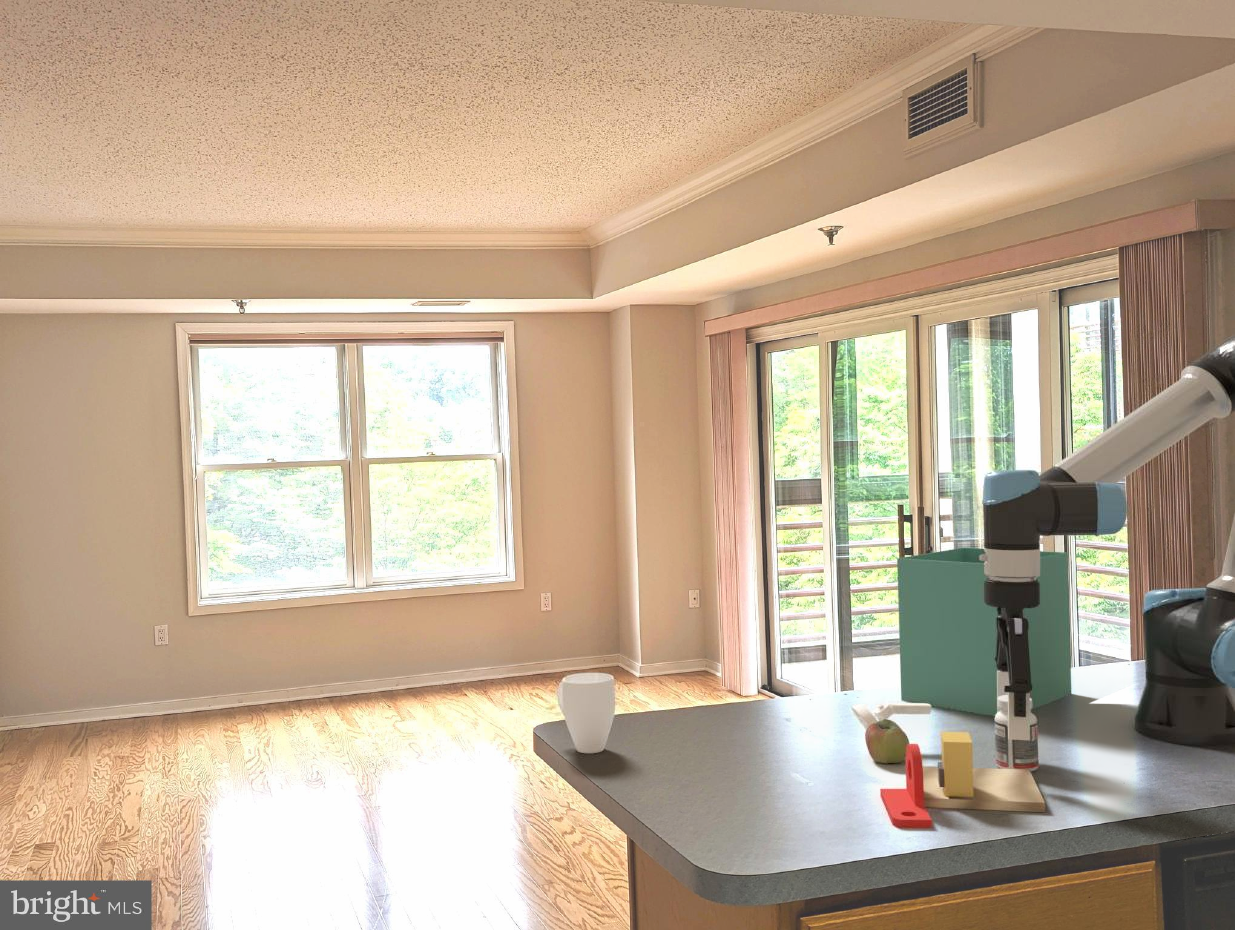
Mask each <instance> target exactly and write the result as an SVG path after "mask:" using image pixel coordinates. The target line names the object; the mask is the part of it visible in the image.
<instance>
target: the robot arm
mask: <svg viewBox="0 0 1235 930" xmlns="http://www.w3.org/2000/svg"><path fill="white" fill-rule="evenodd" d="M1234 412H1235V333H1234V334H1232V335H1231V336H1229V337H1228V338H1226V339H1225V340H1223V341H1222V342H1220V343H1218V345H1216V346H1214V347H1213V348H1212V349H1210V350H1209V351H1207V352H1206V353H1205V354H1203V355H1201V356H1200V357H1199V358H1197V359H1196V360H1194V361H1193V362H1191V363H1190V364H1188V365H1187V366H1186V367H1184V368H1183V369H1182V370H1181V372H1180V379H1178V380H1177V381H1175V382H1174V383H1173V384H1172V385H1170V386H1169V387H1167V388H1165V389H1164V390H1162V391H1161V392H1160V393H1158V394H1157V395H1156V396H1154V397H1152V398H1150V400H1148V401H1147V402H1145V403H1144V404H1142V405H1141V406H1139V407H1138V408H1136V409H1135V410H1133V411H1132V412H1130V413H1129V414H1128V415H1126V416H1124V417H1122V419H1121V420H1118V421H1117V422H1116V423H1115V424H1113V425H1111V426H1110V427H1108V428H1107V429H1106V430H1104V431H1103V432H1102V433H1099V434H1098V435H1097V436H1095V437H1094V438H1092V439H1091V440H1089V441H1088V442H1087V443H1085V444H1084V445H1082V446H1081V447H1080V448H1078V449H1077V450H1075V451H1074V452H1072V453H1070V454H1069V455H1068V456H1066V457H1064V458H1063V459H1062V460H1061V461H1059V462H1057V463H1055V465H1054V466H1052V467H1050V468H1049V469H1047V470H1046V471H1044V472H1043V473H1041V474H1039V472H1038V471H1037V470H1035V469H1033V470H1032V469H1001V470H1000V469H997V470H996V469H994V470H991V471H988V472H987V473H986V474H985V475H984V479H983V487H982V488H983V490H982V501H981V504H982V513H983V514H982V515H983V516H982V518H983V519H982V520H983V547H984V548H983V549H984V551H985V552H986V554H982V555H980V556H979V557H980V558H979V559H980V560H981V561H985V563H984V574H985V575H987V576H989V578H987V579H986V580H985V581H984V602H985V604H986V605H988V606H992V607H998V608H997V611H998V617H996V627H997V640H996V657H995V661H996V663H997V664H996V667H997V669H998V670H1000V671H997V702H998V697H999V696H1002V695H1008V738H1009V739H1010V740H1030V691H1031V690H1032V684H1031V671H1030V657H1029V642H1028V629H1029V622H1028V620H1027V619H1025V618H1023V609H1024V608H1035V607H1037V606H1039V604H1040V583H1039V582H1038V580H1036V577H1039V576H1040V551H1041V543H1040V542H1041V541H1040V540H1041V536H1043V537H1049V536H1095V537H1099V536H1106V535H1115V534H1117V533H1119V532H1121V530H1123V528H1124V526H1125V523H1126V520H1127V516H1128V504H1127V499H1126V496H1125V493H1124V491H1123V489H1122V488H1121V487H1120V486H1119V485H1117V483H1119V482H1120V481H1122V480H1124V479H1125V478H1126V477H1127V476H1130V474H1132V473H1134V472H1135V471H1136V470H1138V469H1140V468H1141V467H1142V466H1144V465H1145V464H1147V463H1148V462H1150V461H1151V460H1153V459H1154V458H1156V457H1157V456H1159V455H1160V454H1162V453H1164V451H1166V450H1168V449H1169V448H1170V447H1172V446H1173V445H1175V444H1177V443H1178V442H1179V441H1180V440H1182V439H1184V438H1185V437H1187V436H1188V435H1190V434H1191V433H1192V432H1194V431H1196V430H1198V429H1199V428H1200V427H1202V426H1203V425H1205V424H1206V423H1207V422H1209V421H1210V420H1212V419H1213V418H1216V419H1224V418H1226V417H1228V416H1230V415H1231V414H1232V413H1234ZM1142 617H1143V633H1144V635H1143V638H1144V640H1143V641H1144V642H1143V643H1144V666H1145V667H1144V669H1145V685H1144V688H1143V690H1142V693H1141V696H1140V699H1139V703H1138V706H1137V708H1136V711H1135V715H1134V730H1135V731H1136V732H1137V733H1138V734H1139V735H1140V736H1143V737H1144V738H1145V737H1146V738H1149V739H1152V740H1154V741H1155V740H1156V741H1160V742H1165V743H1169V744H1175V745H1184V746H1196V747H1197V746H1198V747H1221V746H1222V747H1223V746H1229V745H1230V746H1231V745H1234V744H1235V699H1234V696H1233V693H1232V691H1231V688H1232V689H1235V514H1234V516H1233V520H1232V525H1231V529H1230V534H1229V538H1228V543H1227V547H1226V553H1225V557H1224V560H1223V566H1222V570H1221V575H1219V577H1218V578H1216V579H1214V580H1213V581H1211V582H1209V583H1208V584H1207V585H1206V586H1205V587H1201V588H1199V587H1197V588H1196V587H1195V588H1193V587H1192V588H1190V587H1189V588H1169V589H1168V588H1165V589H1152V590H1150V591H1148V592H1146V594H1144V599H1143V609H1142ZM999 711H1000V708H999V707H998V705H997V713H998V712H999Z"/></svg>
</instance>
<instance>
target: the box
mask: <svg viewBox="0 0 1235 930" xmlns="http://www.w3.org/2000/svg"><path fill="white" fill-rule="evenodd" d="M982 554H986V552H985V551H984V548H979V547H958V548H954V549H946V550H940V551H936V552H929V553H923V554H915V555H911V556H904V557H899V558H896V563H897V564H896V565H897V567H896V568H897V594H898V596H897V598H898V603H897V604H898V630H899V631H898V633H899V635H898V636H899V663H900V665H899V666H900V696H901V697H900V699H901V701H902V702H903V701H904V702H907V703H927V704H930V705H931V707H937V706H938V708H942V707H944V708H943V709H948V708H952V709H951V710H954V709H958V710H957V711H960V710H962V711H961V712H965V711H967V712H966V713H971V712H975V713H974V714H977V713H978V714H977V715H983V714H985V715H984V716H988V715H993V716H992V717H994V716H995V715H996V714H997V671H1000V670H998V669H997V667H996V664H997V663H996V661H995V657H996V640H997V627H996V617H998V611H997V608H998V607H992V606H988V605H986V604H985V602H984V581H985V580H986V579H987V578H989V576H987V575H985V574H984V563H985V561H981V560H980V559H979V558H980V557H979V556H980V555H982ZM1068 554H1069V553H1068V552H1067V551H1066V552H1062V551H1061V552H1060V551H1045V550H1043V551H1041V550H1040V576H1039V577H1036V580H1038V582H1039V583H1040V604H1039V606H1037V607H1035V608H1024V609H1023V618H1025V619H1027V620H1028V622H1029V629H1028V642H1029V657H1030V671H1031V684H1032V690H1031V691H1030V698H1031V699H1032V704H1033V708H1032V709H1033V710H1035V709H1038V708H1040V707H1043V706H1045V705H1048V704H1051V703H1052V702H1055V701H1057V700H1060V699H1062V698H1065V697H1067V696H1070V695H1072V671H1071V670H1072V666H1071V665H1072V662H1071V661H1072V660H1071V632H1070V631H1071V629H1070V626H1071V625H1070V591H1069V590H1070V588H1069V562H1068V561H1069V560H1068V559H1069V557H1068ZM1032 709H1031V711H1033V710H1032Z"/></svg>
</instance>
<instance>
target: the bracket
mask: <svg viewBox="0 0 1235 930" xmlns="http://www.w3.org/2000/svg"><path fill="white" fill-rule="evenodd" d="M922 760H923V759H922V753H921V749H920V746H919V744H918V743H909V744H907V747H906V757H905V785H906V786H905V787H906V788H880V789H879V790H880V791H879V793H880V795H879V796H880V798H881V801H882V804H883V806H884V809H885V810H886V813H887V815H888V817H889V819H890V820H889V821H890V823H891V825H892V826H893V827H895V828H897V829H898V828H899V829H932V828H933V823H932V822H933V821H932V818H931V817H930V814H929V812H928V811H927V809H926V808H927V807H925V804H924V784H923V766H924V765H923V761H922Z"/></svg>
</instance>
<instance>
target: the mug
mask: <svg viewBox="0 0 1235 930" xmlns="http://www.w3.org/2000/svg"><path fill="white" fill-rule="evenodd" d="M615 685H616V684H615V678H614V675H612V674H609V673H605V672H579V673H574V674H568V675H565V676H564V677H563V678H562V680H561V682H560V683H559V684H558V687H557V693H556V694H557V702H558V705H559V706H558V707H559V709H560V711H561V713H562V715H563V716H564V721H565V723H566V726H567V730H568V732H569V733H570V735H571V739H572V741H573V744H574V746H575V750H576V751H577V752H578V753H582V754H595V753H596V754H597V753H601V752H603V751H604V749H605V748H606V747H605V746H606V745H607V741H608V737H609V735H610V732H611V728H612V725H613V722H614V719H615V714H616V713H615V712H616V691H615V690H616V688H615V687H616V686H615Z"/></svg>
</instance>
